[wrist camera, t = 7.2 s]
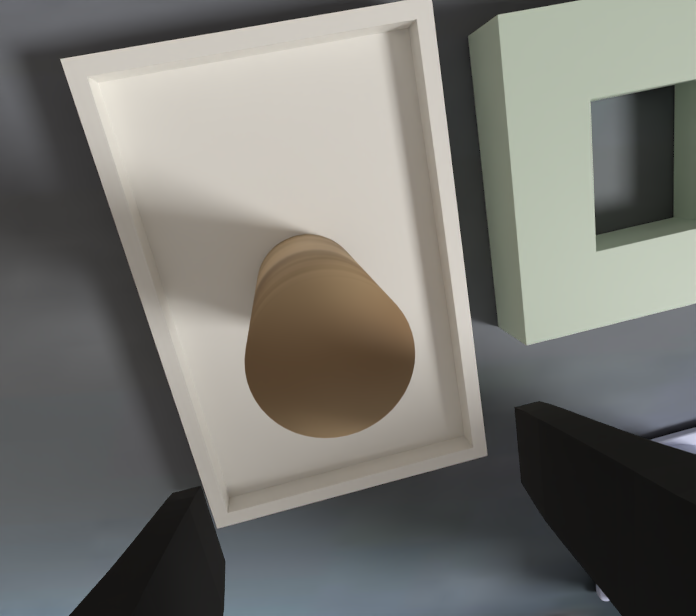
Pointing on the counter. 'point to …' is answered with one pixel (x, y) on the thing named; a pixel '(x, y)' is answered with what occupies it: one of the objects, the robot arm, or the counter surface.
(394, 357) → the oak pin
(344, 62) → the tray
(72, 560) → the counter surface
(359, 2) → the counter surface
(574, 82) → the pin holder
